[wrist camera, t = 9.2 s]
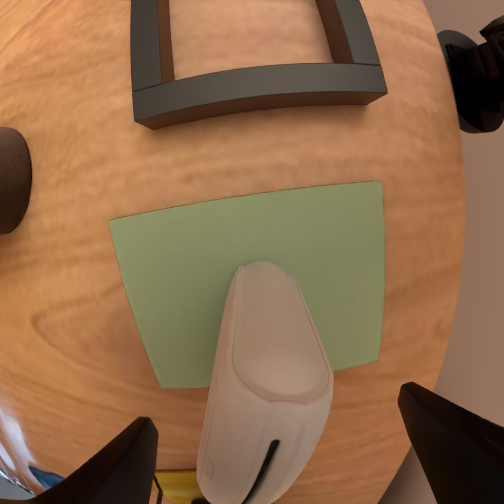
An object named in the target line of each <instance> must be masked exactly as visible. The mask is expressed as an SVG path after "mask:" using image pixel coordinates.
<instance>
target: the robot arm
mask: <svg viewBox="0 0 504 504" xmlns="http://www.w3.org/2000/svg"><path fill="white" fill-rule="evenodd" d="M479 32H480V34H481V35H482V36H483V37H484V38H485V39H486V41H487V42H485V43H483V44H480V45H478V46H476V47H473V48H471V49H468V50H467V49H465V48H462V47H459V46H456V45H453V44H450V43H448V44H446V45H445V48H446V51H447V54H448V57H449V60H450V63H451V66H452V70H453V73H454V77H455V80H456V84H457V88H458V92H459V97H460V100H461V102H462V104H463V105H467V106H472V107H476V108H480V109H484V110H488V111H492V112H496V113H497V112H500V105H499V102H504V15H503V16H501V17H499V18H497V19H495V20H493V21H492V22H491V23H490V24H488V25H487V26H486V27H484V28H483V29H482V30H481V31H479ZM464 99H465V100H464ZM398 406H399V409H400V412H401V415H402V418H403V421H404V424H405V427H406V430H407V433H408V436H409V439H410V441H411V443H412V445H413V447H414V449H415V452H416V454H417V456H418V458H419V460H420V463H421V465H422V468H423V470H424V472H425V475H426V477H427V479H428V482H429V484H430V487H431V489H432V491H433V494H434V496H435V499H436V501H437V504H504V427H502V426H499V425H497V424H495V423H493V422H490V421H488V420H486V419H484V418H483V419H482V417H480V416H478V415H476V414H474V413H472V412H470V411H468V410H466V409H464V408H462V407H460V406H458V405H456V404H454V403H452V402H450V401H449V400H447V399H445V398H443V397H441V396H439V395H437V394H435V393H433V392H431V391H429V390H428V389H426V388H424V387H422V386H420V385H418V384H416V383H415V382H408V383H405V384H403V385H402V386H401V389H400V393H399V397H398ZM157 446H158V431H157V429H156V427H155V425H154V424H153V422H152V420H151V419H150V418H149V417H138V418H137V419H136V420H135V421H133V422H132V423H131V424H130V425H129V426H128V427H127V428H125V429H124V430H123V431H122V432H121V433H120V434H119V435H117V436H116V437H115V438H114V439H113V440H112V441H111V442H109V443H108V444H107V445H106V446H105V447H104V448H102V449H101V450H100V451H99V452H98V453H96V454H95V455H94V456H93V457H92V458H90V459H89V460H88V461H87V462H86V463H84V464H83V465H82V466H81V467H80V468H79V469H77V470H76V471H74V472H73V473H72V474H71V475H69V476H68V477H67V478H65V479H64V480H62V481H61V482H59V483H58V484H56V485H55V486H53V487H52V488H50V489H48V490H46V491H45V492H43V493H41V494H40V495H38V496H36V497H34V498H32V499H28V500H10V499H0V504H149V499H150V494H151V489H152V484H153V479H154V474H155V469H156V458H157Z"/></svg>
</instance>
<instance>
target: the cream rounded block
mask: <svg viewBox="0 0 504 504" xmlns="http://www.w3.org/2000/svg"><path fill="white" fill-rule="evenodd" d="M333 386H334V376H333V371H332V368H331V365H330V362H329V360H328V357H327V354H326V352H325V349H324V347H323V344H322V342H321V339H320V336H319V334H318V331H317V329H316V326H315V324H314V321H313V318H312V316H311V313H310V311H309V309H308V306H307V304H306V302H305V299H304V297H303V294H302V292H301V289H300V287H299V285H298V283H297V280H296V279H295V277H294V276H293V275H288V274H287V272H286V271H285V270H284V269H283V268H282V267H280V266H279V265H277V264H275V263H272V262H269V261H255V262H251V263H249V264H247V265H245V266H241V265H239V267H238V268H237V270H236V272H235V274H234V277H233V279H232V281H231V284H230V288H229V292H228V296H227V298H226V304H225V308H224V313H223V317H222V322H221V327H220V332H219V337H218V343H217V349H216V354H215V360H214V366H213V372H212V377H211V383H210V389H209V394H208V400H207V405H206V411H205V416H204V421H203V427H202V432H201V438H200V444H199V450H198V458H197V481H198V484H199V487H200V490H201V492H202V493H203V495H204V497H205V498H206V499H207V500H208V501H209V502H210V503H211V504H271V503H273V502H274V501H276V500H277V499H278V498H279V497H281V496H282V495H283V494H284V493H285V492H286V491H287V490H288V489H289V488H290V487H291V485H292V484H293V483H294V482H295V480H296V479H297V478H298V477H299V475H300V474H301V472H302V471H303V469H304V467H305V466H306V464H307V463H308V461H309V459H310V458H311V456H312V454H313V452H314V450H315V448H316V446H317V444H318V442H319V440H320V437H321V435H322V433H323V430H324V427H325V425H326V422H327V419H328V415H329V412H330V407H331V402H332V396H333Z"/></svg>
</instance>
